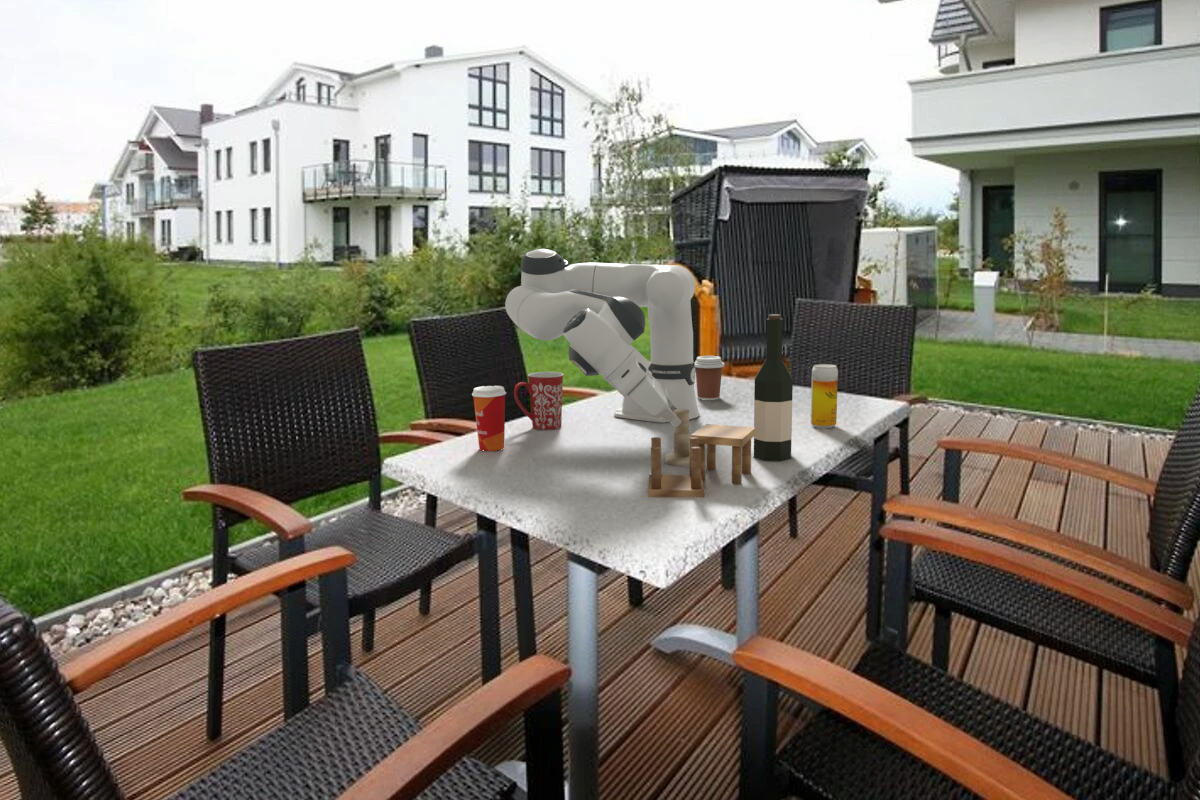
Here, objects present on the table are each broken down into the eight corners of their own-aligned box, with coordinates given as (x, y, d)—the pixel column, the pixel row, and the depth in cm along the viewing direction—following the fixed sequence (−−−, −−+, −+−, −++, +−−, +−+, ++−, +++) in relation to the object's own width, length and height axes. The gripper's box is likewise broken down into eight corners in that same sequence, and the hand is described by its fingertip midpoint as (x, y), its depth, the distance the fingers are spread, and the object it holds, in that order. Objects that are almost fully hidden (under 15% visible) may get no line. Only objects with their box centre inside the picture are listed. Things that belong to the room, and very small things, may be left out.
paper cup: (475, 445, 187) (472, 385, 185) (509, 443, 188) (506, 384, 185) (473, 453, 180) (470, 392, 177) (508, 452, 180) (505, 390, 178)
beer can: (837, 429, 194) (839, 367, 191) (811, 429, 195) (812, 367, 192) (835, 423, 200) (837, 363, 197) (809, 423, 201) (811, 363, 198)
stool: (691, 480, 156) (690, 434, 154) (706, 466, 165) (706, 423, 163) (741, 485, 152) (742, 439, 150) (754, 471, 161) (755, 427, 159)
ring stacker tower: (661, 464, 168) (660, 412, 165) (672, 456, 173) (671, 406, 171) (691, 467, 165) (691, 414, 163) (701, 459, 171) (701, 408, 169)
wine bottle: (761, 449, 178) (763, 312, 172) (798, 454, 173) (801, 313, 167) (745, 458, 171) (747, 316, 165) (783, 463, 166) (786, 317, 160)
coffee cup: (689, 400, 233) (689, 359, 231) (697, 394, 242) (697, 354, 239) (720, 401, 230) (720, 360, 228) (727, 396, 238) (727, 355, 236)
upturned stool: (648, 498, 147) (647, 450, 145) (649, 482, 156) (648, 436, 155) (704, 498, 146) (704, 449, 144) (701, 481, 156) (701, 436, 154)
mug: (561, 421, 210) (559, 370, 207) (568, 429, 201) (567, 375, 199) (512, 425, 207) (510, 373, 204) (518, 433, 198) (516, 379, 195)
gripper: (620, 375, 176) (665, 418, 178) (617, 393, 156) (668, 441, 158) (640, 355, 175) (685, 398, 177) (640, 370, 155) (691, 419, 157)
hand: (677, 419), depth 167 cm, fingers open, 8 cm apart
